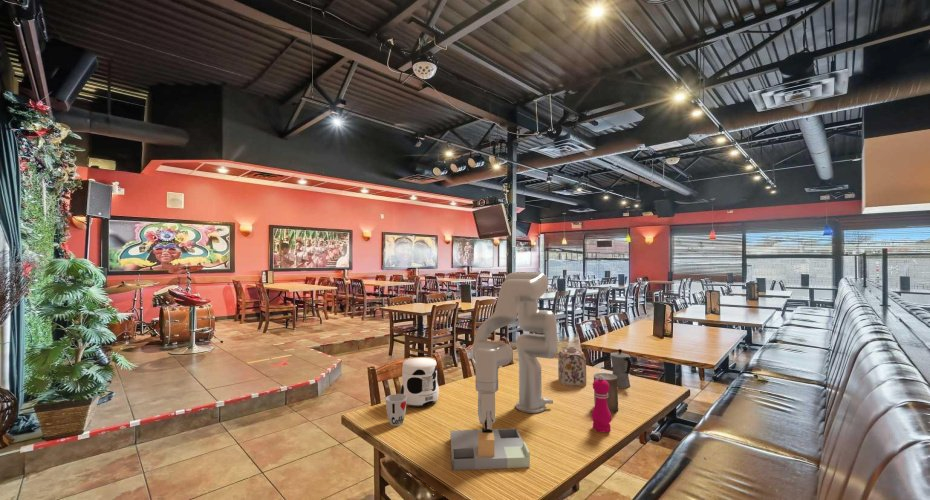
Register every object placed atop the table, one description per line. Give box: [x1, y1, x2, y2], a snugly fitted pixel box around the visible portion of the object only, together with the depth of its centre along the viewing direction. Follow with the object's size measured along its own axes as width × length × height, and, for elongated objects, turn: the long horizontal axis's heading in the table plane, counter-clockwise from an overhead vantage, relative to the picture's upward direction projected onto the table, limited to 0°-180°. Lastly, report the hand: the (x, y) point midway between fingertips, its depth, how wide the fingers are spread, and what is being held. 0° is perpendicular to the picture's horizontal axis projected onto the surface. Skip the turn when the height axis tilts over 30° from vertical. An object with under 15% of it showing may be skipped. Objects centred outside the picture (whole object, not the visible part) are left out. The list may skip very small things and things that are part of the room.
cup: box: [385, 393, 407, 427], centre depth 150 cm, size 8×8×10 cm
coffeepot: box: [610, 348, 632, 389], centre depth 192 cm, size 15×9×18 cm, turn 9°
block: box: [478, 433, 495, 456], centre depth 122 cm, size 5×5×5 cm
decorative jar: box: [557, 346, 587, 387], centre depth 198 cm, size 12×12×18 cm
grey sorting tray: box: [450, 428, 531, 471], centre depth 128 cm, size 24×20×4 cm
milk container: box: [399, 357, 440, 408], centre depth 172 cm, size 17×17×18 cm
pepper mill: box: [591, 375, 613, 433], centre depth 144 cm, size 7×7×20 cm
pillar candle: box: [593, 372, 619, 413], centre depth 164 cm, size 10×10×15 cm
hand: (487, 440), depth 127 cm, fingers closed
